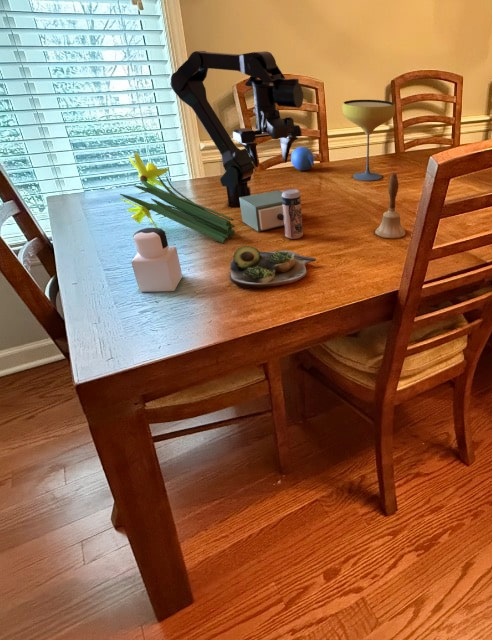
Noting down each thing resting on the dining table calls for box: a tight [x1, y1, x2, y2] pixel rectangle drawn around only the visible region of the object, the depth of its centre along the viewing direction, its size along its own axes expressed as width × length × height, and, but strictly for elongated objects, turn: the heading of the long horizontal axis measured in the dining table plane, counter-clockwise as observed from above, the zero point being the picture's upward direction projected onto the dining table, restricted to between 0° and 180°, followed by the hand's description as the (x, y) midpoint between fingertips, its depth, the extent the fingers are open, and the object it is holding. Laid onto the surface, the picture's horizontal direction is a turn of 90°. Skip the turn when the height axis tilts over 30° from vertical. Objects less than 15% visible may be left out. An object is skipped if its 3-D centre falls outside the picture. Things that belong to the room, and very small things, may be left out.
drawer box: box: [239, 189, 284, 233], centre depth 130 cm, size 10×12×7 cm
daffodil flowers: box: [117, 150, 236, 244], centre depth 122 cm, size 17×15×35 cm
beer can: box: [282, 188, 304, 240], centre depth 120 cm, size 5×5×12 cm
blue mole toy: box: [290, 146, 319, 171], centre depth 178 cm, size 12×12×8 cm
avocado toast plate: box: [229, 245, 317, 289], centre depth 105 cm, size 19×18×5 cm
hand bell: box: [374, 172, 406, 240], centre depth 122 cm, size 8×8×16 cm
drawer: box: [258, 204, 284, 230], centre depth 129 cm, size 10×11×5 cm
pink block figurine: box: [130, 227, 183, 293], centre depth 96 cm, size 7×7×12 cm
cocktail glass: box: [342, 99, 396, 182], centre depth 166 cm, size 18×18×25 cm
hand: (271, 164), depth 135 cm, fingers open, 9 cm apart
